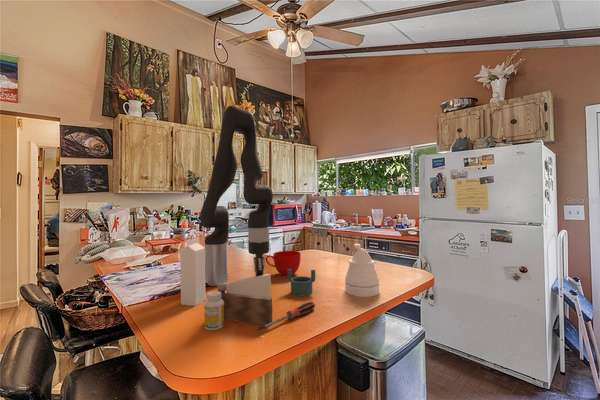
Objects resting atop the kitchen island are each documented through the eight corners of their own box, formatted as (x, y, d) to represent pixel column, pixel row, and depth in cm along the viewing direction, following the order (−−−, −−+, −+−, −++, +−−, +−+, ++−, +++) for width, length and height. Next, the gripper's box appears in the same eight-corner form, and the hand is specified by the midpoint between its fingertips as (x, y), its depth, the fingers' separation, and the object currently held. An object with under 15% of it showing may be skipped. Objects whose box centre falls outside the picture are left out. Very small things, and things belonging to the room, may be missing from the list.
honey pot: (338, 291, 113) (338, 245, 112) (356, 284, 122) (356, 241, 122) (368, 299, 104) (368, 249, 104) (385, 290, 113) (384, 244, 113)
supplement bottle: (211, 332, 79) (211, 297, 79) (200, 327, 83) (200, 293, 83) (227, 326, 83) (227, 292, 83) (217, 321, 87) (216, 289, 87)
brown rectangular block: (212, 317, 90) (212, 293, 89) (221, 312, 94) (220, 288, 94) (270, 325, 83) (269, 299, 83) (276, 319, 87) (276, 295, 87)
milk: (180, 304, 101) (179, 241, 100) (191, 298, 107) (190, 238, 106) (196, 306, 99) (194, 241, 99) (206, 299, 105) (204, 239, 105)
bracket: (317, 293, 111) (317, 270, 111) (296, 297, 106) (296, 273, 106) (305, 287, 119) (305, 265, 119) (285, 291, 114) (285, 268, 114)
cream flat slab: (220, 315, 90) (219, 286, 90) (216, 313, 92) (215, 284, 92) (271, 300, 102) (271, 274, 102) (267, 298, 105) (267, 273, 104)
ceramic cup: (269, 270, 147) (269, 250, 147) (302, 271, 144) (302, 251, 144) (262, 277, 134) (262, 255, 134) (298, 278, 131) (298, 256, 131)
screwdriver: (259, 338, 76) (259, 326, 76) (252, 334, 78) (252, 323, 78) (317, 310, 95) (317, 300, 95) (310, 307, 97) (310, 298, 97)
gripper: (248, 237, 112) (248, 282, 112) (248, 243, 99) (249, 293, 99) (267, 236, 113) (268, 281, 113) (270, 242, 100) (271, 292, 100)
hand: (259, 286), depth 106 cm, fingers closed
